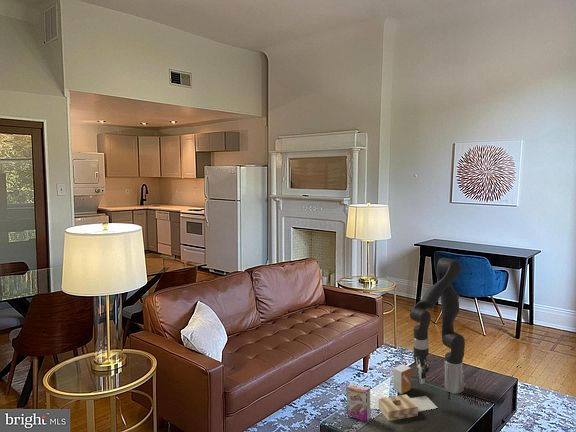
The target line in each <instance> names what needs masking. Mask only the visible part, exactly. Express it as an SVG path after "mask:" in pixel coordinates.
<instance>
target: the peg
mask: <svg viewBox="0 0 576 432" xmlns="http://www.w3.org/2000/svg"><path fill="white" fill-rule="evenodd" d="M422 366H424V365H422ZM418 367H419V375H418V383H419V384H422V385H423V384H425V383H426V378H425V379H422V378H421V368H420V365H419V364H418ZM423 369H424V368H423Z"/></svg>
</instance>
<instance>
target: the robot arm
mask: <svg viewBox="0 0 576 432" xmlns="http://www.w3.org/2000/svg"><path fill="white" fill-rule="evenodd" d="M436 267H437V268H436V269H437V270H436V271H437V277H438V281H437V282H436V283H434V284H433V285H432V286H430V287H429V288H427V290H426V291H425V292H424V295H423V297H422V298H421V299H420V300H419V301H418V302H417V303H416V304H415V305H414V306H412V307H411V310H410V312H409V317H410V320H412V321H415V322H417V323H419V324H417V325H415V326H414V327H413V340H412V341H413V346H412V347H413V354H412V355H413V361H414V366H416V369H417V375H418V376H419V367H418V364H419V365H420V368H421V378H422V379H425V380H426V378H427V374H426V373H429V372H430V371H429V370H430V367H431V364H430V363H428V356H429V355H430V353H429V352H430V351H429V336H428V335H429V332H428V331H429V327H430V324H431V317H432V315H431V314H430V312H429V311H428V310H432V309H433V308H434V307H435V306H436V304H437V302H438V301H439V299H440V306H441V343H442V344H443V345H444V346H446V348H449V349H450V352H447V353H445V355H444V390H445V391H446V392H448V393H449V392H450V394H456V395H457V394H458V395H459V394H462V393H463V392H464V391H465V375H464V373H463V363H464V362H463V359H464V357H465V348H466V346H465V345H466V343H465V342H466V341H465V338H464V336H463V335H462V334H460V333H458V332H456V331H455V329H454V322H455V319H456V318H457V316H458V314H459V312H460V301H459V299H460V298H459V296H458V294H457V292H456V290H455V289H454V286H453V285H452V283H453V282H454V281H455V279H456V278H457V277H458V276H459V275H460V273H461V270H462V263H461V262H460V260H457V259H453V258H448V257H441V258H439V259H438V262H437V266H436ZM422 365H424V366H422ZM423 368H424V369H423Z"/></svg>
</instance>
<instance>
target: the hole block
mask: <svg viewBox="0 0 576 432" xmlns="http://www.w3.org/2000/svg"><path fill="white" fill-rule="evenodd" d="M410 398H411V397H410V396H408V394H400V395H395V396H389V397H383V398H378V409H379V411H380V412H381V413H382V414H383V416H384V417H385V419H386V420H387V421H388V422H391V421H397V420H402V419H409V418H413V417H418V416H419V412H418V406H417V405H416V404H415V403H414V402H413V401H412V400H411V399H410Z"/></svg>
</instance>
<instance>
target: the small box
mask: <svg viewBox="0 0 576 432" xmlns="http://www.w3.org/2000/svg"><path fill="white" fill-rule="evenodd" d="M392 379H393V380H392V382H393V384H392V385H393V386H392V388H393V390H394V391H395V392H397V393H399V394H400V395H403V394H404V393H406V392H408V391H411V390H412V368H411V367H410V366H408V365H405V364H404V363H403V364H400V365H397V366H395V367H393V368H392Z"/></svg>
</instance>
